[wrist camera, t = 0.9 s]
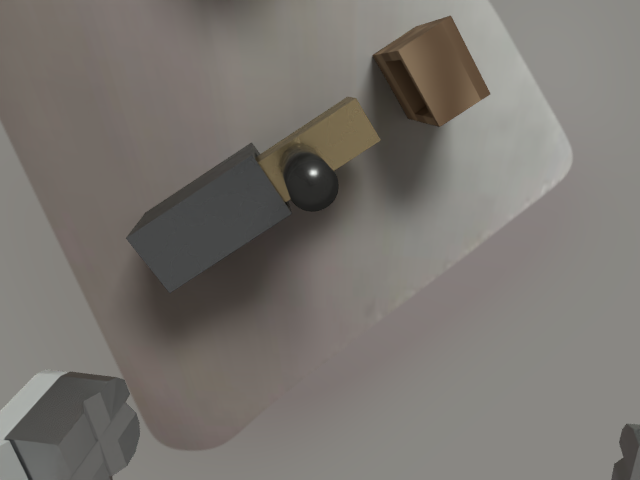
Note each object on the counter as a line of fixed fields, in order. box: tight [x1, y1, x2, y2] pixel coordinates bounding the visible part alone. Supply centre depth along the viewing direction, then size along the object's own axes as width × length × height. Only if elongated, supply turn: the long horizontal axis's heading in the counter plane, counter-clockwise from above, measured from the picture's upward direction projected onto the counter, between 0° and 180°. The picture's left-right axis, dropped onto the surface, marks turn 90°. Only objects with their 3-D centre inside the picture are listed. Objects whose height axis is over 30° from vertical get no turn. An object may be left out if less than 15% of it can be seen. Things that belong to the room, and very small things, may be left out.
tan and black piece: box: [255, 97, 380, 211], centre depth 39 cm, size 18×4×12 cm, turn 122°
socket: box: [373, 16, 490, 127], centre depth 43 cm, size 4×6×8 cm
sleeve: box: [126, 143, 292, 293], centre depth 45 cm, size 11×5×8 cm, turn 122°
